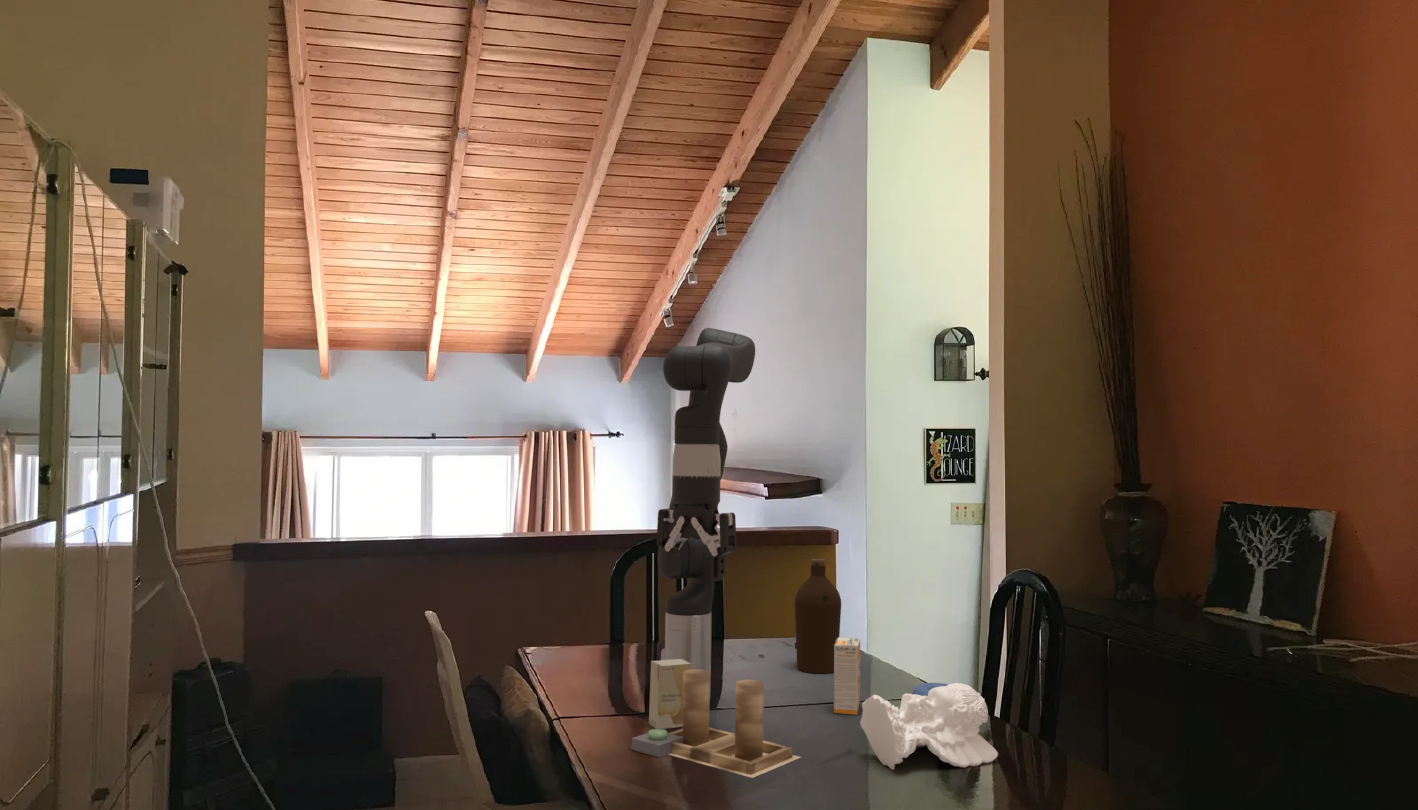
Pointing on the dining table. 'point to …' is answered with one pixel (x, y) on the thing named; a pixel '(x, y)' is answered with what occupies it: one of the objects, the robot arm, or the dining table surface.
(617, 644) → the dining table surface
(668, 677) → the skincare box
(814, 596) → the olive oil
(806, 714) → the dining table surface
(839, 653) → the supplement box
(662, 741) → the block
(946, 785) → the dining table surface
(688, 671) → the cylinder
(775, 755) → the wooden tray
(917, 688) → the doughnut
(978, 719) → the cherub figurine
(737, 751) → the loose billet
